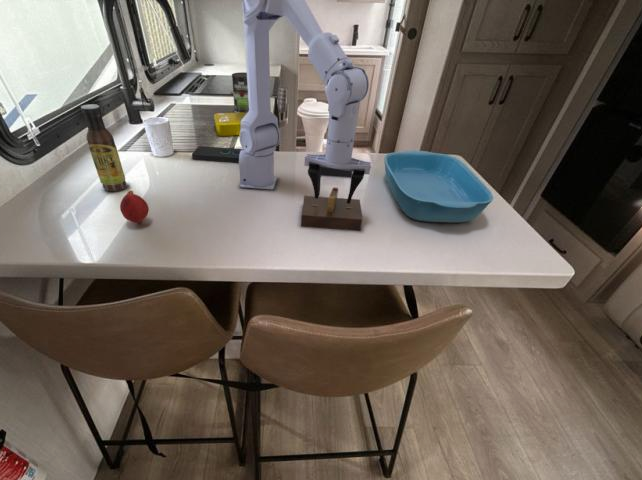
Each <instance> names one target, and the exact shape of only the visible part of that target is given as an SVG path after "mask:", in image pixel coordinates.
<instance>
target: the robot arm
mask: <svg viewBox="0 0 642 480" xmlns="http://www.w3.org/2000/svg"><path fill="white" fill-rule="evenodd" d="M241 8H242V20H243V37H244V50H245V51H244V52H245V66H246V67H245V68H246V73H247V85H248V102H249V111H248V113H247V114H246V115H245V116H244V118H243V119H242V120H241V131H240V136H239V143H240V146H241V149H244V150H241V151H240V155H239V163H238V170H239V183H240V185H239V188H243V189H257V190H274V189H275V186H276V184H277V183H276V182H277V179H278V177H277V176H275V151H277V147H278V146H279V144H280V142H281V131H280V127H279V118H278V117H277V115H275V114H274V113H273V112H272V109H271V70H270V69H271V68H270V66H271V64H270V30H271V29H272V27H273V26H274V25H275V24H276V22H277V21H279V20H280V19H282V18H283V17H284V18H286V20H287V21H288V22H289V24H290V25H291V27H293V29H294V30H295V32H297V34H298V35H299V37H300V38H301V40H302V41H303V42H304V43H305V45H306V46H307V47H308V50H307V58H308V60H309V63H311V65H312V66H313V68H314V69H315V71H316V72H317V74H318V75H319V77H320V79H321V80H322V82H323V83H324V84H325V86H324V93H325V97H326V100H327V103H328V104H327V105H328V107H327V112H328V115H329V116H328V125H327V127H328V128H327V136H326V146H325V152H324V154H325V155H324V154H311V153H310V154H309V153H307V154H306V155H305V156H304V161H303V163H304V164H303V166H305V167H308V169H307V175H308V176H309V179H310V181H311V184H312V188H313V192H314V196H315V198H316V199H318V197H320V194H321V179H322V175H321V173H322V167H326V168H333V169H341V170H348V171H352V173H351V177H350V186H349V192H348V195H347V198H346V199H347V203H348V204H350V202H351V199H353V196H354V193H355V192H356V190H357V188H358V187H359V185H360V184H361V183H362V181H363V179H364V176H365V175H370V173H371V168H372V162H370V161H365V160H361V159H357V158H354V157H352V156H353V151H354V143H355V139H356V132H357V125H358V119H359V112H360V106H361V101H363V100H364V99H365V97H366V96H367V94H368V92H369V87H370V81H369V77H368V74H367V72H366V69H365V68H363V67H362V66H356V65H355V64H354V62H353V60H352V59H351V58H349V57H348V56H347V54H346V53H345V51H344V49H343V48H342V47H341V45H340V38H339V37H338V35H337V34H333V33H331V32H323V30H322V28H321V26H320V24H319V23H318V21H317V19H316V17H315V16H314V14H313V11H312V10H311V8H310V6H309V5H308V3H307V2H306V0H241Z"/></svg>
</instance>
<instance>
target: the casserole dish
mask: <svg viewBox="0 0 642 480" xmlns="http://www.w3.org/2000/svg"><path fill="white" fill-rule="evenodd" d="M384 171H385V179H386V181H387V184H388V186H389V188H390V190H391V193H392V195H393V196H394V198H395V200H396V202H397V204H398V206H399V207H400V209H401V210H402V211H403V213H404V214H405V215H406V216H408V217H409V218H411V219H412V220H415V221H418V222H426V223H427V222H428V223H465V222H469V221H472V220H473V219H476V218H477V217H478V216H480V214H481V213H483V212H484V210H485V209H486V208H487V207H488V206H489V205H490V204H491V203H492V202H493V200H494V195H493V193H492V191H491V190H490V189H489V188H488V187H487V186H486V185H485V183H483V181H482V180H480V178H479V177H477V175H476V174H475V173H474V172H473V171H472V170H471V169H470V168H469V167H468V166H467V165H466V164H465V163H464V162H463V161H461V160H460V159H458V158H457V157H455V156H452V155H449V154H446V153H445V154H444V153H438V152H432V151H425V150H403V151H402V150H401V151H394V152H389V153H387V154H386V155H385V156H384Z"/></svg>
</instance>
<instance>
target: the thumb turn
mask: <svg viewBox="0 0 642 480" xmlns="http://www.w3.org/2000/svg"><path fill="white" fill-rule="evenodd" d="M338 196H339V188H338V187H335V186H334V187H333V188H332V189H331V192H330V194H329V195H328V197H329V198H328V207H327V212H333V210H334V208H335V205H336V203H337V198H339V197H338Z"/></svg>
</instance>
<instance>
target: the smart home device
mask: <svg viewBox="0 0 642 480" xmlns="http://www.w3.org/2000/svg"><path fill="white" fill-rule="evenodd" d="M241 150H244V149H243V148H232V147H220V146H219V147H218V146H205V145H203V146H202V145H199V146H197V148H196V149H195V150H194V151H193V152H192V153H191V157H192V160H196V161H208V162H209V161H210V162H224V163H236V164H239V155H240V151H241Z"/></svg>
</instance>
